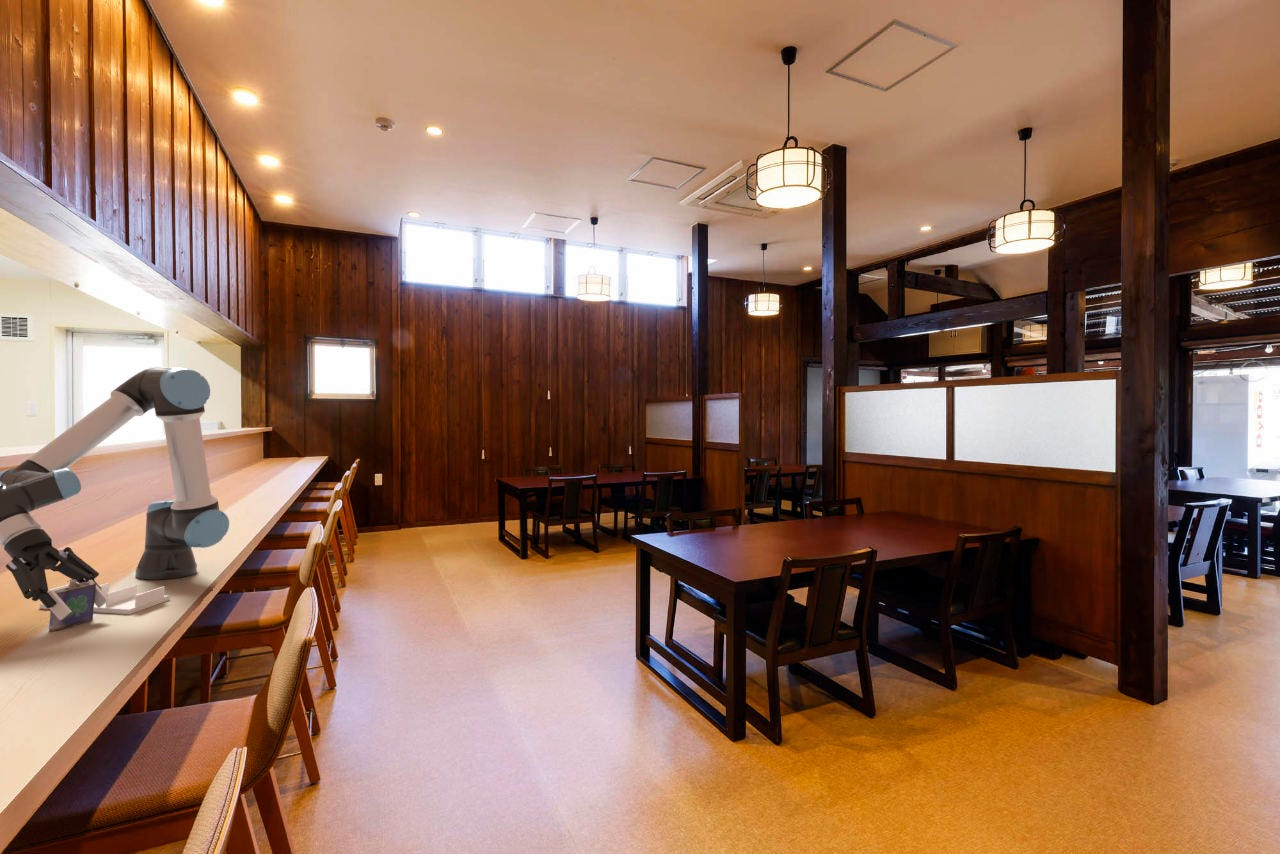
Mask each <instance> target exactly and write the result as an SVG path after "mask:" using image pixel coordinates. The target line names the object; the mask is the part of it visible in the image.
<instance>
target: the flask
mask: <svg viewBox="0 0 1280 854" xmlns="http://www.w3.org/2000/svg"><path fill="white" fill-rule="evenodd" d="M67 583H69V587H68V588H64V589H60V590H56V591H54V592H55V593H56V594H57V595H58V596H59V597H60V598H61V600H62V601H63V602H64V603H65V604H66V605H67V606H68V608H69V609H70V610H71V611H72V612H71V613H70V614H69V615H67V616H66V617H65V618H64V619H63V620H59V619H58V618H57V617H56V615H55V614H54V613H53V612H52V611H51V610H50V609H49V613H50V615H49V625H48V629H49V632H51V631H52V632H56V631H62V630H65V629H68V628H71V627H77V625H81V624H83V623H84V624H85V623H88V622H92V621H93V620H94V612H93V608H94V598H95V588H96V584H95V583H87V582H84V584H83V583H79V584H78V583H77V581H76V579H75V580H74V579H71V578H70V579H69V580H67Z"/></svg>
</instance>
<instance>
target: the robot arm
mask: <svg viewBox="0 0 1280 854" xmlns="http://www.w3.org/2000/svg"><path fill="white" fill-rule="evenodd" d="M210 396H211V387H210V384H209V382H208V380H207V378H205V376H204V375H203V374H201V373H199V372H198V371H196V370H194V369H190V368H186V367H163V366H162V367H161V366H155V367H149V368H147V369H144V370H141V371H140V372H138V373H136V374H134V375H133V376H131V377H130V378H128V379H127V380H126V381H125V382H123V383H122V384H120V385H118V386H117V387H116V388H115V389H113V390H111V392H110V397H109V398H108V399H107V400H105V401H104V402H103V403H101V404H100V405H99V406H97V407H95V408H94V409H93V410H92V411H91V412H89V413H88V414H87V415H85V416H84V417H83V418H81V419H79V420H78V421H77V422H76V423H74V424H73V425H72V426H70V427H69V428H68V429H66V430H65V431H63V432H62V433H61V434H60V435H58V436H57V437H55V438H54V439H52V441H51V442H49V443H48V444H46V445H45V446H43V447H42V448H41V449H40V450H38V451H37V452H36V453H34V454H33V455H31V456H30V457H28V458H27V459H25V461H23V462H21V463H20V464H19V465H17V466H16V467H12V468H7V469H4V470H2V471H0V546H1V547H3V549H4V551H5V552H6V553H7V554H8V556H9V557H10V558H11V560H10V561H9V562H8V563H7V564H5V568H7V570H8V571H10V573H11V574H12V576H13V578H14V580H15V582H16V584H17V586H18V587H19V588H18V589H20V591H21V593H22V595H23V597H24V599H27V600H30V599H31V600H32V601H33V602H37V601H39V602H41V603H43V604H44V605H45V607H47V608H49V609H48V610H49V611H50V610H51V611H52V612H53V613H54V614H55V615H56V617H57V618H58V619H59V620H63V619H64V618H65V617H66V616H67V615H69V614H70V613H71V612H72V611H71V610H70V609H69V608H68V606H67V605H66V604H65V603H64V602H63V601H62V600H61V598H60V597H59V596H58V595H57V594H56V593H55V592H54V590H52V591H49V592H48V590H49V587H48V581H47V576H46V570H50V571H52V572H58V573H60V574H62V575H63V576H66V577H67V578H69V579H70V580H71V579H74V580H75V579H76V581H77V582H78V583H83V584H84V582H87V583H95V584H96V588H95V598H94V603H95V604H96V606H97V607H98V608H99V607H102V606H103V605H104V604H105V603H106V602H107V601H108V600H109V598H108V597H107V596H106V595H105V594H104V593H103V592H102V589H101V587H99V584H98V583H97V581H96V580H95V579H96V578H97V577H98V576H99V575H100V573H99V572H98V571H97V570H95V569H94V568H93V567H91V566H90V564H88V563H87V562H85V561H84V560H83V559H82V558H81V557H79V555H77V554H76V553H75V552H74V551H73V549H72V548H71V547H69V546H66V547H65V548H64V549H57V548H56V547H54V546H53V544H52V543H53V539H52V537H50V535H49V534H48V533H47V532H46V531H45V530H44V529H43V528H42V527H41V524H39V522H38V521H37V520H36V519H35V518H34V516H32V515H31V513H30V512H33V511H35V510H39V509H41V508H44V507H47V506H50V505H53V504H55V503H58V502H61V501H64V500H67V499H69V498H71V497H73V496H75V495H76V496H77V495H78V494H80V492H81V490H82V484H81V481H80V479H79V477H78V476H77V475H76V473H75V472H74V471H73V470H72V469H71V468H70V467H72V466H73V465H74V464H75V463H77V462H79V460H81V458H83V457H85V456H86V455H87V454H89V452H91V451H92V450H94V449H95V448H96V447H97V446H98V445H100V444H101V443H102V442H104V441H105V440H106V439H108V438H109V437H110V436H112V435H113V434H114V433H115V432H117V431H118V430H119V429H120V428H122V427H124V425H125V424H127V423H128V422H129V421H131V420H132V419H133V418H135V417H142V416H143V415H145V414H146V413H147V412H149V411H150V410H153V409H154V412H155V416H156V418H158V419H160V420H161V421H162V422H163V427H164V433H165V439H166V446H167V451H168V452H167V453H168V457H169V458H168V459H169V464H170V471H171V477H172V483H173V484H172V485H173V489H174V495H175V500H163V501H153V502H150V503H149V504H148V506H147V508H146V509H147V511H146V514H145V515H146V522H145V523H146V524H145V538H144V541H145V542H144V551H143V553H142V555H141V557H140V560H139V562H138V564H137V566H136V568H135V577H136V578H137V579H141V580H170V579H176V578H184V577H188V576H191V575H194V574H195V573H197V571H198V569H197V568H198V564H197V562H196V557H195V556H194V552H193V549H192V548H209V547H213V546H215V545H216V544H218V543H220V542H221V541H222V540H223V539H224V537H225V536H226V535H227V533H228V531H229V528H230V520H229V519H230V518H229V517H228V515H227V514H226V513H225V512H224V511H223V510H220V506H219V500H218V498H217V497H216V496H214V495H212V494H211V487H210V480H209V479H210V478H209V474H208V466H207V460H206V459H207V458H206V453H205V446H204V439H203V433H202V425H201V419H200V418H201V417H202V416H203V415H204V413H205V412H206V411H205V405H206V404H207V401H208V400H209V399H210ZM59 562H60V563H59Z"/></svg>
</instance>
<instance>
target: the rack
mask: <svg viewBox="0 0 1280 854" xmlns="http://www.w3.org/2000/svg"><path fill="white" fill-rule="evenodd" d="M77 583H78V582H77ZM69 584H70V583H69ZM69 584H66V585H65V584H64V585H61V586H58V587H53V588H50V589H48V592H49V591H52V590H54V591H56V590H60V589H64V588H68V587H69ZM78 584H79V583H78ZM98 585H99V584H98ZM110 586H111V583H110V582H106V583H104V584H100V585H99V587H101V589H102V592H103V593H104V594H105V595H106V596H107V597H108V598H109V600H108V601H107V602H106V603H105V604H104V605H103V606H102V607H99V608H98V607H97V606H96V604H95V603H94V608H93V613H99V614H100V613H103V614H117V615H119V614H120V615H132V614H134V613H137V612H140V611H142V610H145V609H148V608H151V607H154V606H157V605H159V604H161V603H164V602H165V603H166V602H167V601H170V596H171V595H168V594H167V595H166V594H165V587H166V586H164V585H163V586H160V587H157V588H154V589H151V590H148V591H145V592H142V593H138V584H133V585H130V586H129V585H128V586H126V587H124V588H120V589H116V590H113V591H110V589H111V588H110ZM39 609H40V610H42V609H43V610H50V609H49V608H47V607H45V605H44V604H43V603H42V602H41V603H39Z"/></svg>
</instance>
